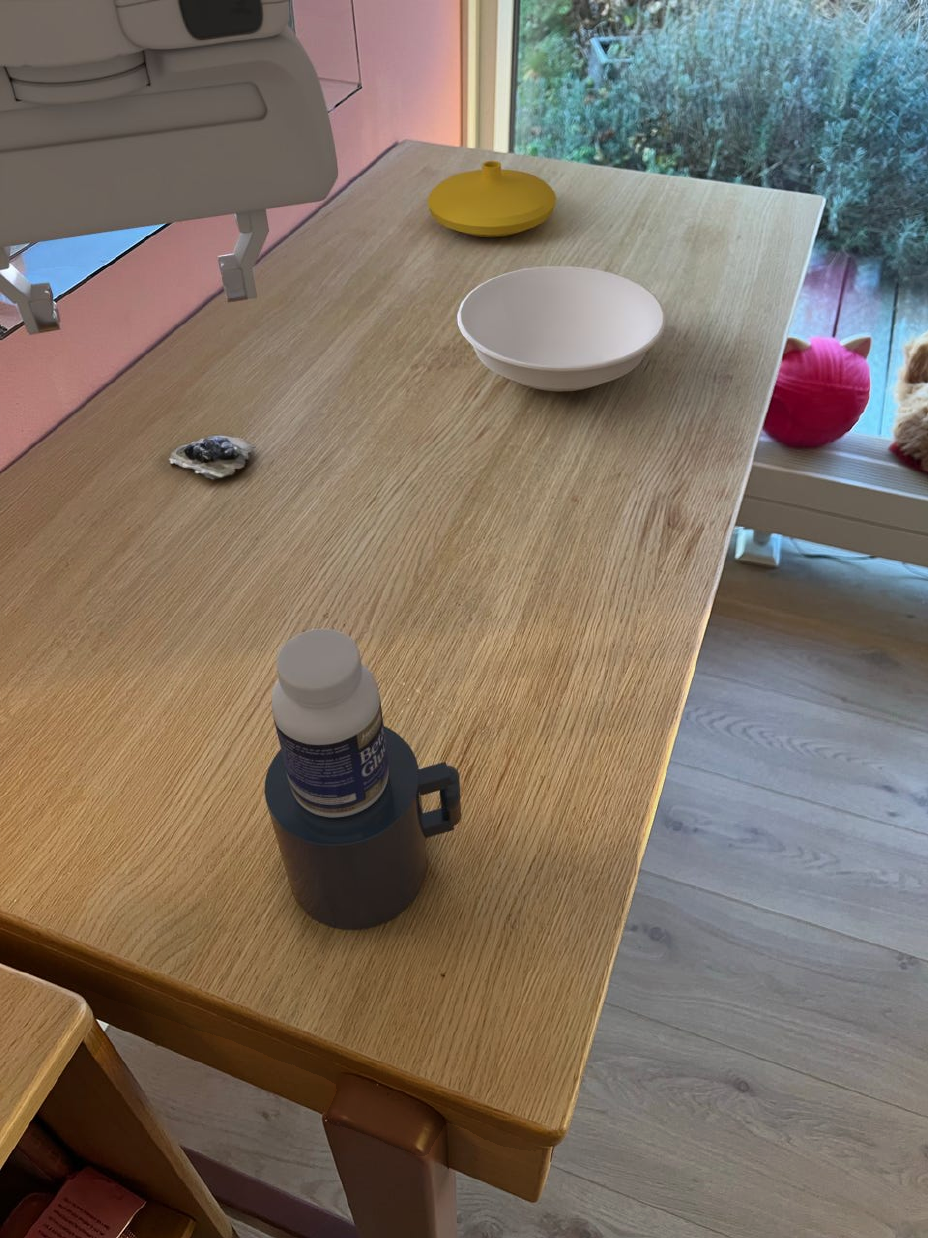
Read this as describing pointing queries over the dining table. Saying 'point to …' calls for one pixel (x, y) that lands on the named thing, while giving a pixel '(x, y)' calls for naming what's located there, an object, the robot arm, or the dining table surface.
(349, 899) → the mug
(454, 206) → the vase
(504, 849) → the dining table surface
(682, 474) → the dining table surface
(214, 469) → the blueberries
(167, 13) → the robot arm
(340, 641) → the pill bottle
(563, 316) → the bowl
